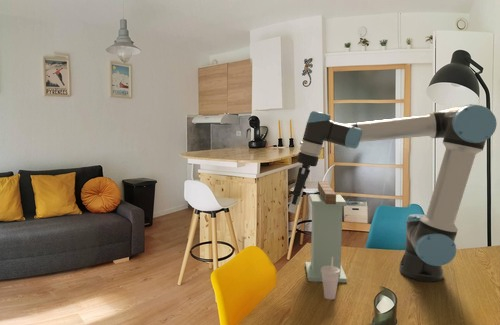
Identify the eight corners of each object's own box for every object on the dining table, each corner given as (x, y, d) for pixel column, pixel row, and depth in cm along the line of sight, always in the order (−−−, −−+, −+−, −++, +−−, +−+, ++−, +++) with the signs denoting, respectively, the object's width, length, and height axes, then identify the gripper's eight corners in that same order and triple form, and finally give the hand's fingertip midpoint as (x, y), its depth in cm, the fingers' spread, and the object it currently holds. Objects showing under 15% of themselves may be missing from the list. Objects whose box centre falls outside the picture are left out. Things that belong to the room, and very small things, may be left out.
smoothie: (339, 302, 112) (341, 261, 110) (319, 300, 113) (320, 259, 111) (338, 292, 118) (340, 253, 116) (319, 291, 119) (320, 252, 117)
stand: (305, 265, 140) (306, 193, 137) (340, 266, 139) (342, 194, 136) (308, 281, 127) (309, 201, 123) (346, 282, 125) (349, 202, 122)
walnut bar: (317, 189, 145) (317, 181, 145) (326, 189, 145) (326, 181, 145) (325, 204, 120) (325, 194, 119) (335, 204, 119) (336, 194, 119)
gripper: (302, 148, 138) (288, 197, 142) (295, 153, 114) (278, 212, 117) (320, 153, 136) (306, 203, 140) (317, 159, 112) (300, 219, 116)
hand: (293, 207), depth 129 cm, fingers open, 13 cm apart
